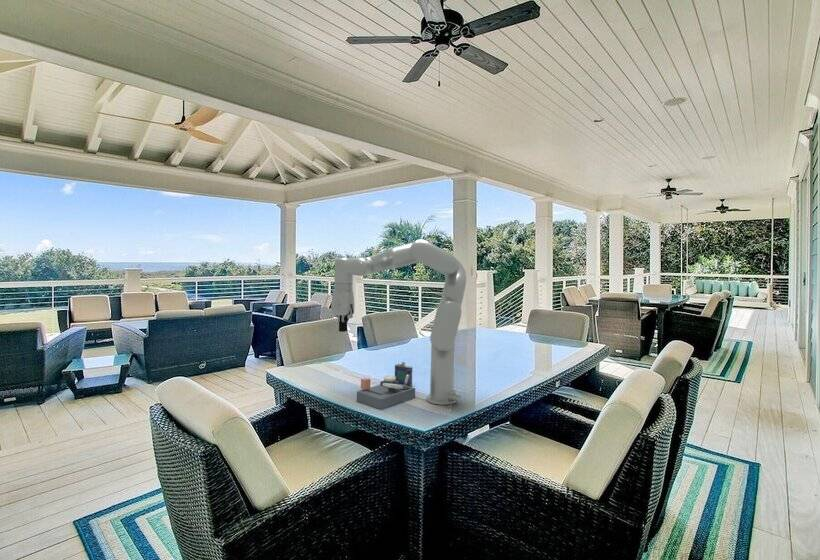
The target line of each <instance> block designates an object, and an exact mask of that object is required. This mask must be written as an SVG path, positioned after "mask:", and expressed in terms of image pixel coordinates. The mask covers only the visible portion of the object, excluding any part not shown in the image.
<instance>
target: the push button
mask: <svg viewBox="0 0 820 560" xmlns="http://www.w3.org/2000/svg"><path fill="white" fill-rule="evenodd" d="M383 381H386V382H387V383H392V382H394V381H396V377H395V375H385V376H383Z"/></svg>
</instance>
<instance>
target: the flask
mask: <svg viewBox="0 0 820 560" xmlns="http://www.w3.org/2000/svg"><path fill="white" fill-rule="evenodd" d="M408 369H411V371H412V373H411V374H410V375H409V378H408V382H407V385H406V386H409V387H413V366H410V365H406V362H405V361H402V362H400V363H397V364H395V365H394V376H395V377H396V381H399V384H402V385H404V382H405V378H406V375H407V372H406V371H407V370H408Z"/></svg>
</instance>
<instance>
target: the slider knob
mask: <svg viewBox="0 0 820 560" xmlns="http://www.w3.org/2000/svg"><path fill="white" fill-rule="evenodd" d="M370 388H371V378H368V377H364V378H361V379H360V390H367V389H370Z"/></svg>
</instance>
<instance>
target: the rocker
mask: <svg viewBox="0 0 820 560" xmlns="http://www.w3.org/2000/svg"><path fill="white" fill-rule="evenodd" d="M382 385H383V386H386V387H390V388H402V389H403V386H401V385H397V384H389V383H383V384H382Z"/></svg>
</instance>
